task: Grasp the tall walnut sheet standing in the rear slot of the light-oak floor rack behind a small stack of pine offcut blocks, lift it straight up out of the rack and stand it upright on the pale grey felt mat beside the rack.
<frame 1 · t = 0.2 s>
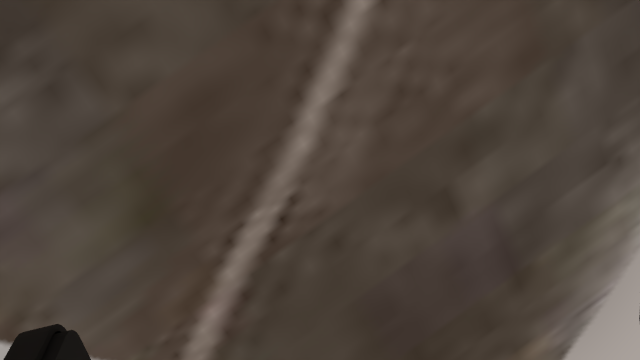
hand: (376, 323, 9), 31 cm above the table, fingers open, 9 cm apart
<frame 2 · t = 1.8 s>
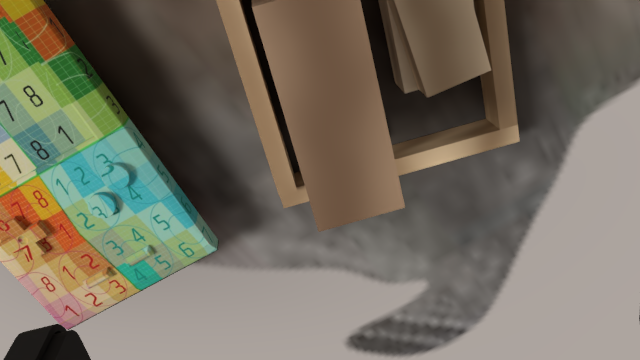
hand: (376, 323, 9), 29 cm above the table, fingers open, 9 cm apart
offcut top: (432, 27, 34), point 3 cm above the table
offcut low: (419, 11, 36), resting in rack
rack: (365, 31, 36), on the table
puzzle game: (61, 147, 37), on the table
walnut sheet: (304, 49, 36), resting in rack
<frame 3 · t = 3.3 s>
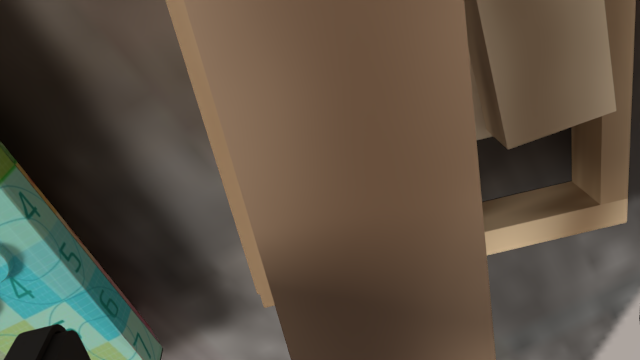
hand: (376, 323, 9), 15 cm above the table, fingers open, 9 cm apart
offcut top: (522, 33, 20), point 3 cm above the table, touching offcut low
offcut low: (495, 12, 23), resting in rack, touching offcut top
rack: (404, 45, 23), on the table
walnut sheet: (307, 67, 23), resting in rack
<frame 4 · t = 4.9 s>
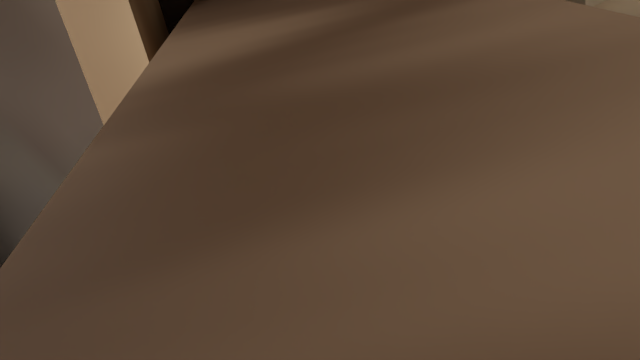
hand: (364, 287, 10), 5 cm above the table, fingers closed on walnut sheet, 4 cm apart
rack: (472, 135, 15), on the table
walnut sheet: (326, 171, 15), resting in rack, touching gripper
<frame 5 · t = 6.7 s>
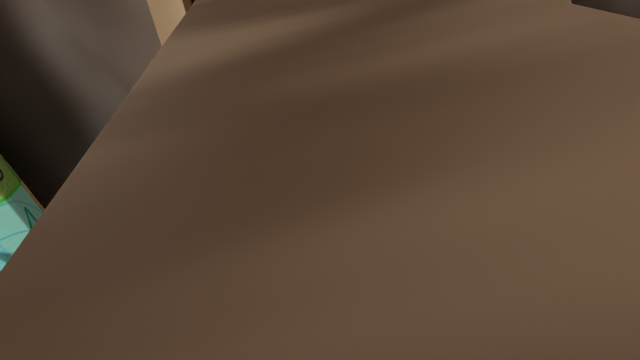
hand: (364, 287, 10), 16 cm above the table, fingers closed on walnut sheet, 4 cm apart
rack: (372, 73, 26), on the table
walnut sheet: (326, 171, 15), point 11 cm above the table, touching gripper
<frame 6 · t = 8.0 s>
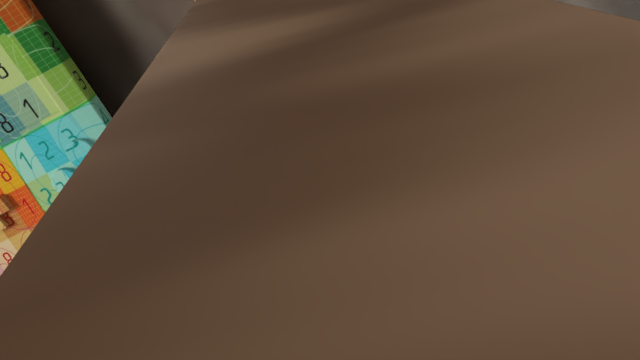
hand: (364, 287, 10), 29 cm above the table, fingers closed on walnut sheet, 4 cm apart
puzzle game: (28, 124, 37), on the table
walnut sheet: (326, 172, 15), point 23 cm above the table, touching gripper
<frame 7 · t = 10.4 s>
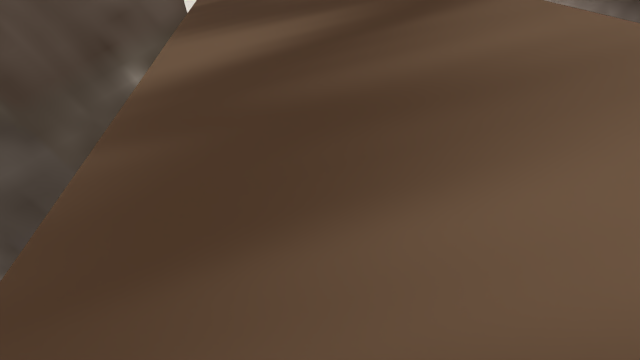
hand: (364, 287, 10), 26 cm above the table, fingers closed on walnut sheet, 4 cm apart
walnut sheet: (326, 173, 15), point 21 cm above the table, touching gripper
when the fingers open (7 cm above the table, at t = 14.1 s): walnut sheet stays where it is, resting on mat.
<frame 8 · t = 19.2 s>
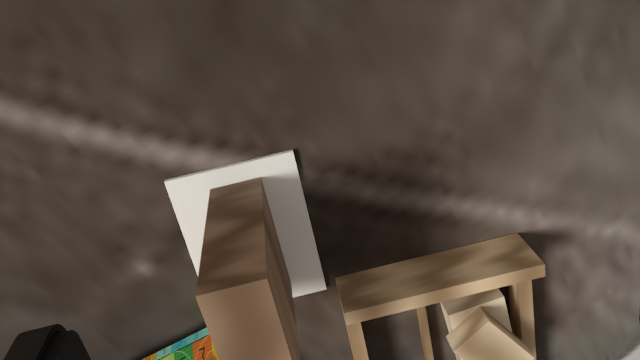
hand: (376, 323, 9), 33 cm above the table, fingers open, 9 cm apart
offcut top: (485, 339, 50), point 3 cm above the table
offcut low: (472, 319, 53), resting in rack
rack: (438, 337, 53), on the table
mat: (250, 236, 46), on the table
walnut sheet: (252, 237, 46), resting on mat
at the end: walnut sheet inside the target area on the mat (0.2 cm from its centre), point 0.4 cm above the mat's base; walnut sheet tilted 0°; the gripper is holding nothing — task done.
